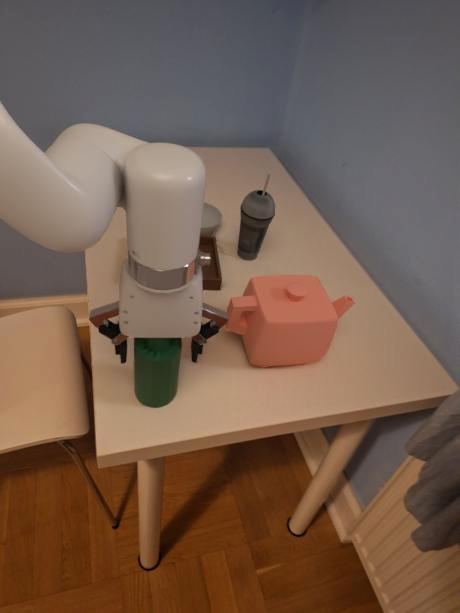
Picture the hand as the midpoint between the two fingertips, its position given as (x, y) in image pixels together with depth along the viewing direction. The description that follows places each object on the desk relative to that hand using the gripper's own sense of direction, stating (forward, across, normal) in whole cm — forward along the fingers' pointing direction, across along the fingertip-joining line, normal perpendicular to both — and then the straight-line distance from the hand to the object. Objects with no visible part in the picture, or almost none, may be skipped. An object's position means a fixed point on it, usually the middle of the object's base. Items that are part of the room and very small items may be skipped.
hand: (159, 355), depth 57 cm
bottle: (+9, 0, 0) cm, 9 cm away
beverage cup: (+9, -20, -35) cm, 41 cm away
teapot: (+9, -22, -9) cm, 25 cm away
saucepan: (+9, -9, -48) cm, 50 cm away
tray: (+9, -4, -30) cm, 32 cm away
